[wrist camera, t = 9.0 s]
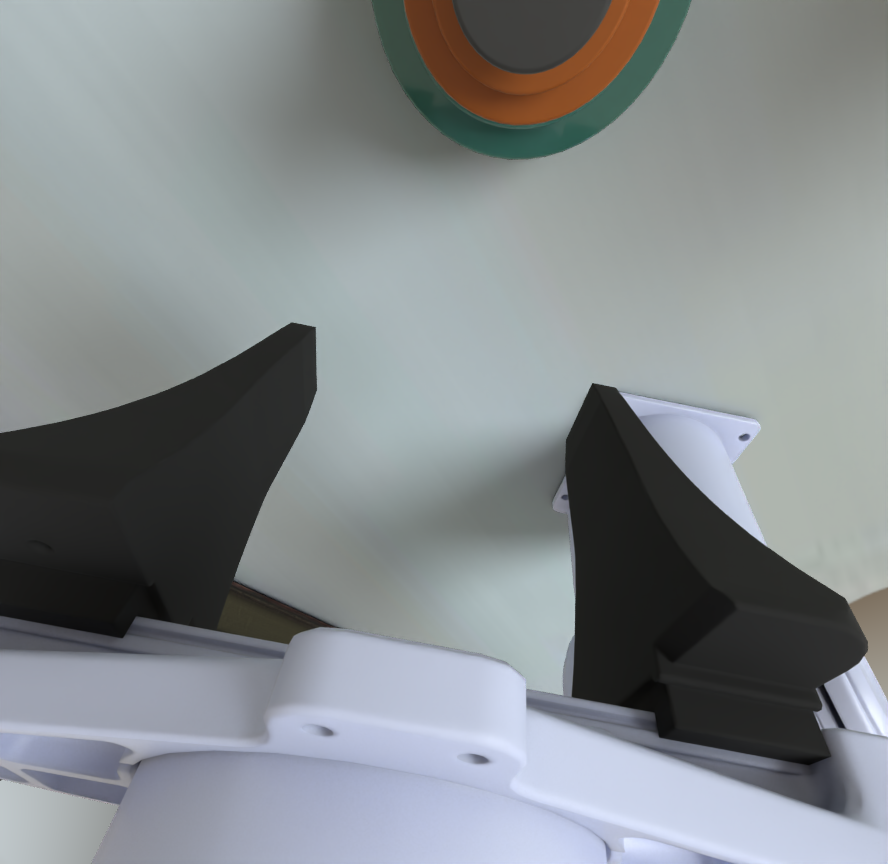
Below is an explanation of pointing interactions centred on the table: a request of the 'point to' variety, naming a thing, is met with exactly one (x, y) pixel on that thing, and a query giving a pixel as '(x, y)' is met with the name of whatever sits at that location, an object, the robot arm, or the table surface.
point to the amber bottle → (526, 51)
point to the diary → (262, 617)
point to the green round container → (523, 138)
